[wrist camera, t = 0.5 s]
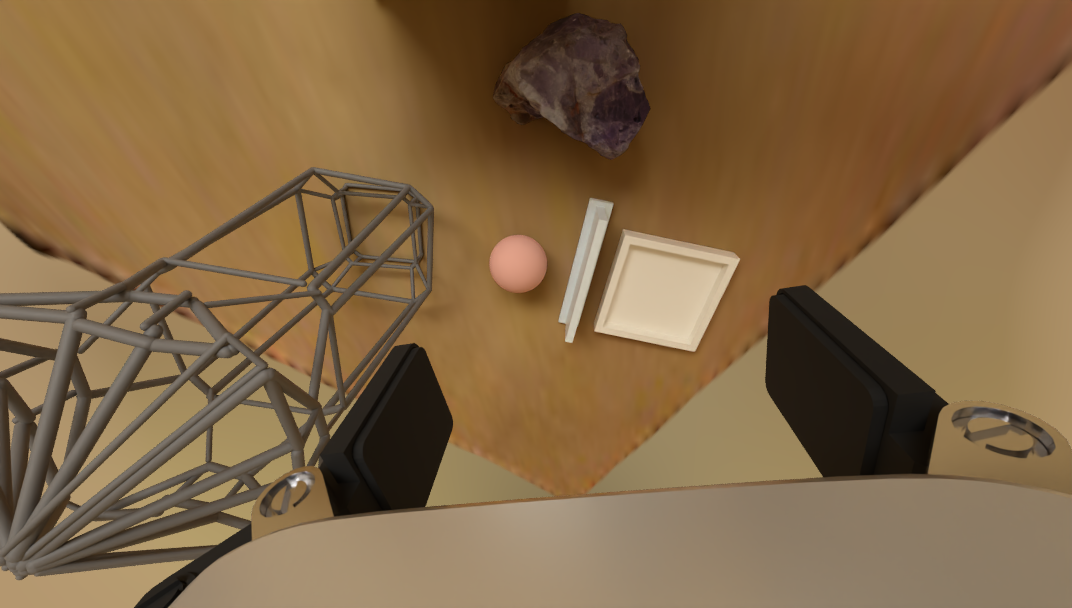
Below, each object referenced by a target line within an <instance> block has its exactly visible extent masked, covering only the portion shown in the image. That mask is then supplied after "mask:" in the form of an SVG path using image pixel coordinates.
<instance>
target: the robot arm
mask: <svg viewBox="0 0 1072 608" xmlns="http://www.w3.org/2000/svg"><path fill="white" fill-rule="evenodd" d="M766 359H767V360H766V377H765V383H766V388H767V391H768V393H769V395H770V397H771V398H772V400H773V401H774V403H775V404H776V406H777V407H778V409H779V410H780V412H781V413H782V415H783V416H784V418H785V419H786V421H787V422H788V424H789V425H790V427H791V428H792V430H793V432H794V433H795V435H796V436H797V438H798V439H799V441H800V442H801V444H802V445H803V447H804V448H805V450H806V451H807V453H808V454H809V456H810V457H811V459H812V460H813V462H814V464H815V465H816V467H817V468H818V470H819V471H820V473H821V474H822V476H823V477H822V478H807V479H790V480H773V481H760V482H745V483H731V484H717V485H704V486H689V487H675V488H660V489H647V490H634V491H620V492H607V493H595V494H581V495H568V496H555V497H543V498H529V499H517V500H505V501H493V502H481V503H468V504H457V505H444V506H432V507H425V506H426V503H427V500H428V498H429V495H430V492H431V489H432V486H433V483H434V480H435V477H436V475H437V472H438V469H439V466H440V463H441V460H442V457H443V454H444V451H445V449H446V446H447V443H448V440H449V437H450V434H451V432H452V428H453V419H452V415H451V413H450V410H449V408H448V406H447V403H446V401H445V398H444V396H443V393H442V391H441V388H440V386H439V383H438V381H437V378H436V376H435V373H434V371H433V369H432V366H431V364H430V361H429V359H428V356H427V354H426V351H425V350H424V348H422V347H419V346H418V345H417V344H415V343H412V344H406V345H399V346H395V347H394V348H393V349H392V350H391V352H390V353H389V355H388V356H387V358H386V359H385V361H384V362H383V364H382V365H381V366H380V368H379V369H378V371H377V372H376V374H375V375H374V377H373V378H372V379H371V381H370V382H369V384H368V385H367V387H366V388H365V390H364V391H363V393H362V394H361V395H360V397H359V398H358V400H357V401H356V403H355V404H354V406H353V407H352V409H351V410H350V411H349V413H348V415H347V416H346V417H345V419H344V420H343V422H342V423H341V424H340V426H339V427H338V429H337V430H336V432H335V434H334V435H333V436H332V438H331V439H330V440H329V442H328V443H327V445H326V446H325V448H324V449H323V451H322V452H321V454H320V456H321V458H322V460H323V462H322V464H321V465H320V467H319V468H317V467H314V466H304V467H300V468H297V469H294V470H292V471H290V472H288V473H286V474H284V475H282V476H281V477H279V478H278V479H276V480H275V481H274V482H273V483H271V484H270V485H269V486H268V487H267V488H266V489H265V490H264V491H263V492H262V493H261V495H260V496H259V497H258V498H257V500H256V502H255V504H254V505H253V508H252V514H251V524H249V525H248V526H246V527H245V528H243V529H242V530H240V531H239V532H237V533H236V534H234V535H232V536H231V537H229V538H228V539H226V540H225V541H223V542H222V543H220V544H219V545H217V546H216V547H214V548H212V549H211V550H209V551H208V552H206V553H205V554H203V555H202V556H200V557H199V558H197V559H195V560H194V561H192V562H191V563H189V564H188V565H186V566H185V567H183V568H182V569H180V570H179V571H177V572H176V573H174V574H172V575H171V576H169V577H168V578H166V579H165V580H164V581H163V582H161V583H159V584H158V585H156V586H155V587H153V588H152V589H151V590H150V591H149V592H148V593H146V594H145V595H144V596H143V597H142V599H141V600H140V601H139V602H138V604H137V605H136V606H135V607H134V608H1072V449H1071V447H1070V445H1069V443H1068V441H1067V439H1066V438H1065V437H1064V436H1063V435H1062V434H1061V433H1060V432H1059V431H1058V430H1057V429H1056V428H1054V427H1052V426H1051V425H1049V424H1048V423H1046V422H1045V421H1043V420H1041V419H1040V418H1037V417H1035V416H1033V415H1031V414H1028V413H1026V412H1024V411H1021V410H1018V409H1015V408H1011V407H1008V406H1005V405H1002V404H996V403H991V402H984V401H960V402H954V403H951V404H948V403H947V402H946V401H944V400H943V399H942V398H941V397H940V396H939V395H937V394H936V393H935V390H934V389H933V388H931V387H930V386H929V385H928V384H927V383H925V382H924V381H923V380H922V379H920V378H919V377H918V376H917V375H916V374H914V373H913V372H912V371H911V370H909V369H908V368H907V367H906V366H904V365H903V364H902V363H901V362H900V361H898V360H897V359H896V358H895V357H894V356H892V355H891V354H890V353H889V352H887V351H886V350H885V349H884V348H883V347H881V346H880V345H879V344H878V343H876V342H875V341H874V340H873V339H872V338H870V337H869V336H868V335H867V334H865V333H864V332H863V331H862V330H861V329H859V328H858V327H857V326H856V325H854V324H853V323H852V322H851V321H850V320H848V319H847V318H846V317H845V316H843V315H842V314H841V313H840V312H839V311H837V310H836V309H835V308H834V307H832V306H831V305H830V304H829V303H827V302H826V301H825V300H824V299H823V298H821V297H820V296H819V295H818V294H817V293H815V292H814V291H813V290H812V289H810V288H809V287H808V286H806V285H803V286H796V287H790V288H783V289H779V290H778V292H777V295H774V296H771V298H770V302H769V320H768V339H767V358H766Z"/></svg>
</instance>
